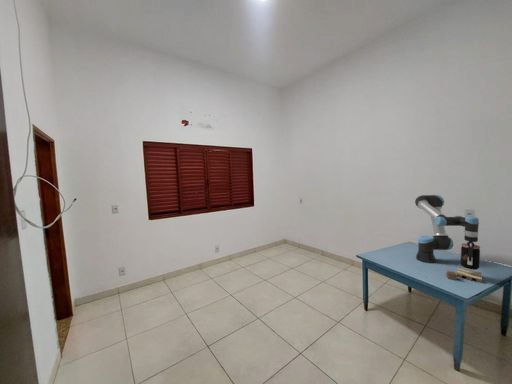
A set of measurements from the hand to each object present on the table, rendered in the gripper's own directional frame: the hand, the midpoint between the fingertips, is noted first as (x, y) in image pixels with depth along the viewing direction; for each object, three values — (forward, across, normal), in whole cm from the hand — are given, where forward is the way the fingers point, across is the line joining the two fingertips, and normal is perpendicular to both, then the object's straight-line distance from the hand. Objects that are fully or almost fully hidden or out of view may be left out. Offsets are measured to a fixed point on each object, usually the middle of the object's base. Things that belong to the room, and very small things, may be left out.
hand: (469, 262), depth 169 cm
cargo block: (+12, +12, -10) cm, 20 cm away
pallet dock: (+12, 0, 0) cm, 12 cm away
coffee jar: (+4, 0, 0) cm, 4 cm away
